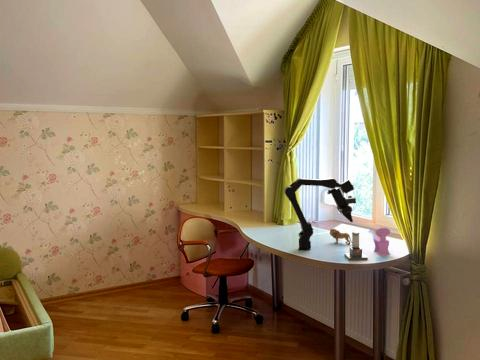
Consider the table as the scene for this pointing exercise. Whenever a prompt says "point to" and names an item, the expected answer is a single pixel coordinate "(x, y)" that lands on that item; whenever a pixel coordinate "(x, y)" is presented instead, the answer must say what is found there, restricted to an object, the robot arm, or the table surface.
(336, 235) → the lion figurine
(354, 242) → the steel post
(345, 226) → the table surface
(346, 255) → the stand base
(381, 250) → the pink figurine
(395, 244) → the table surface
